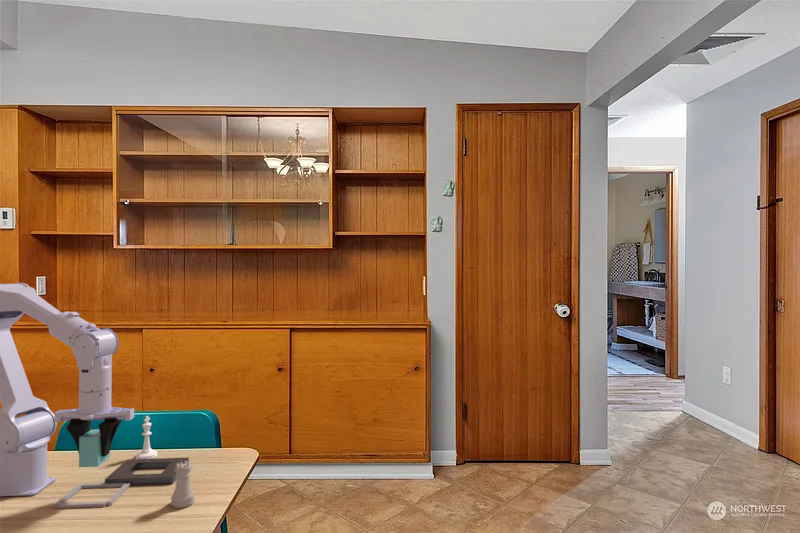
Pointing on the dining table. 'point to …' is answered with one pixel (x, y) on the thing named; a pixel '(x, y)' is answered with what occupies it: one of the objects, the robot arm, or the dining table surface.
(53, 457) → the dining table surface
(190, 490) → the rook chess piece
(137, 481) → the port block
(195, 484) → the dining table surface
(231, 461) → the dining table surface
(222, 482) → the dining table surface
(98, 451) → the plug
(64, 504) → the open picture frame
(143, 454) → the chess piece
